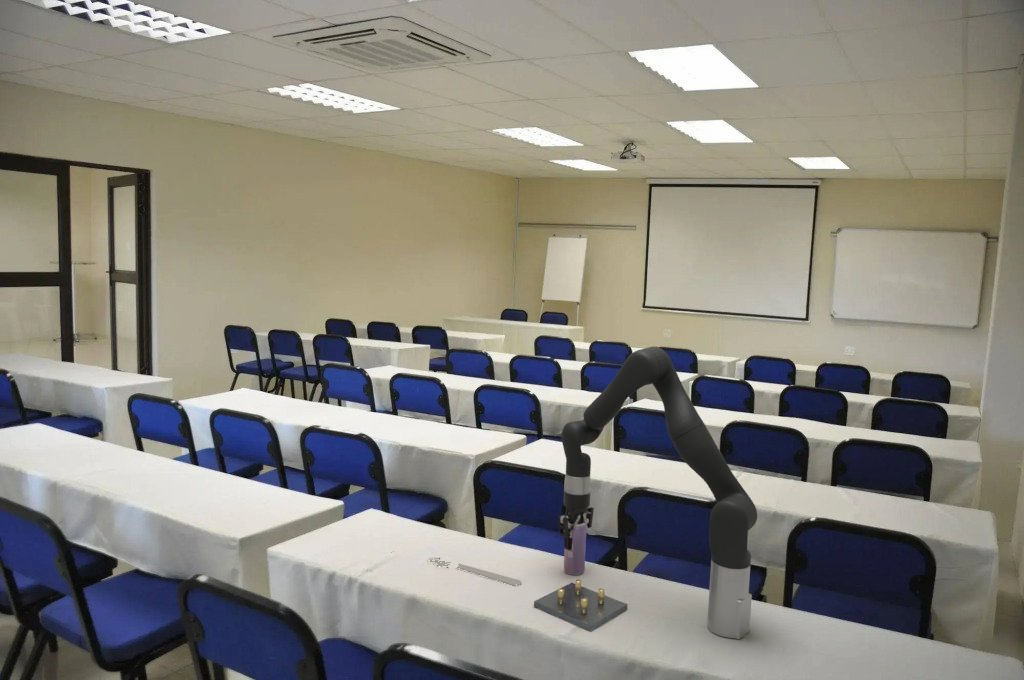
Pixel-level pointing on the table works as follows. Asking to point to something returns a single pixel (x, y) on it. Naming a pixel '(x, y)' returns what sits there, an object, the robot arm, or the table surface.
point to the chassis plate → (575, 607)
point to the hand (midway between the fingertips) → (575, 546)
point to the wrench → (483, 573)
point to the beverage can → (576, 551)
